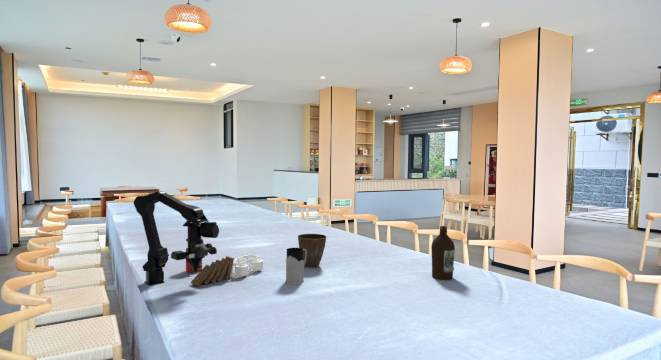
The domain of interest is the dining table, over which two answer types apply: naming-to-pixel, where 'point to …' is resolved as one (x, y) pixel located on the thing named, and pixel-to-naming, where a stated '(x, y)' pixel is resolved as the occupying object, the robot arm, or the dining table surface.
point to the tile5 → (228, 268)
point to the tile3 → (217, 271)
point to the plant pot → (312, 248)
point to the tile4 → (223, 269)
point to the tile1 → (202, 275)
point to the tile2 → (215, 266)
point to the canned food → (188, 267)
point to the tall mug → (295, 265)
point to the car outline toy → (246, 265)
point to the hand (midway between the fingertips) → (194, 272)
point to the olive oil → (442, 256)
